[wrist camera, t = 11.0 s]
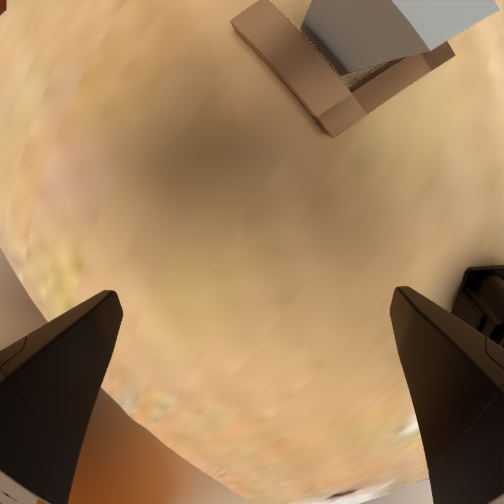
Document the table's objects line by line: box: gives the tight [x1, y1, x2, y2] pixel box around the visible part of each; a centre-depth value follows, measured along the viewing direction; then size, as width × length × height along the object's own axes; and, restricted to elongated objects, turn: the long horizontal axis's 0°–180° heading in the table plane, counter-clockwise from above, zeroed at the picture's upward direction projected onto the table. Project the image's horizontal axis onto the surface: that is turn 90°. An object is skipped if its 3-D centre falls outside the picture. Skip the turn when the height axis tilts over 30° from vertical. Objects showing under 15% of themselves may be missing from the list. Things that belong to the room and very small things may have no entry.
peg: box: [301, 0, 500, 76], centre depth 10 cm, size 4×4×12 cm
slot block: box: [230, 0, 455, 138], centre depth 14 cm, size 9×10×2 cm
